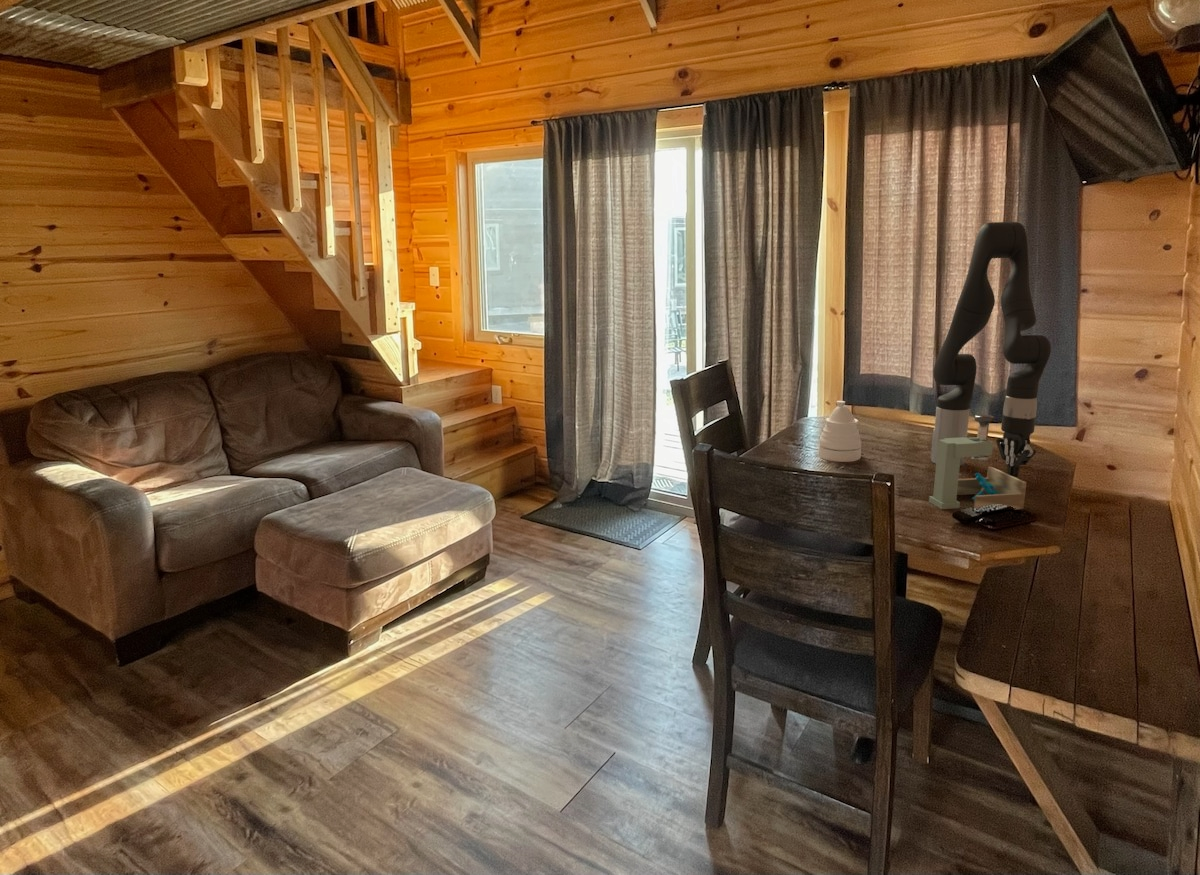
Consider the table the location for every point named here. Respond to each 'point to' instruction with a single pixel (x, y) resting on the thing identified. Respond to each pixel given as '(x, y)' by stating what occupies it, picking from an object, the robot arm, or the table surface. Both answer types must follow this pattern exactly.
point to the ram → (983, 432)
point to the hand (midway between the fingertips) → (1011, 478)
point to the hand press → (953, 467)
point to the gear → (984, 486)
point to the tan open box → (1002, 482)
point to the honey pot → (840, 436)
